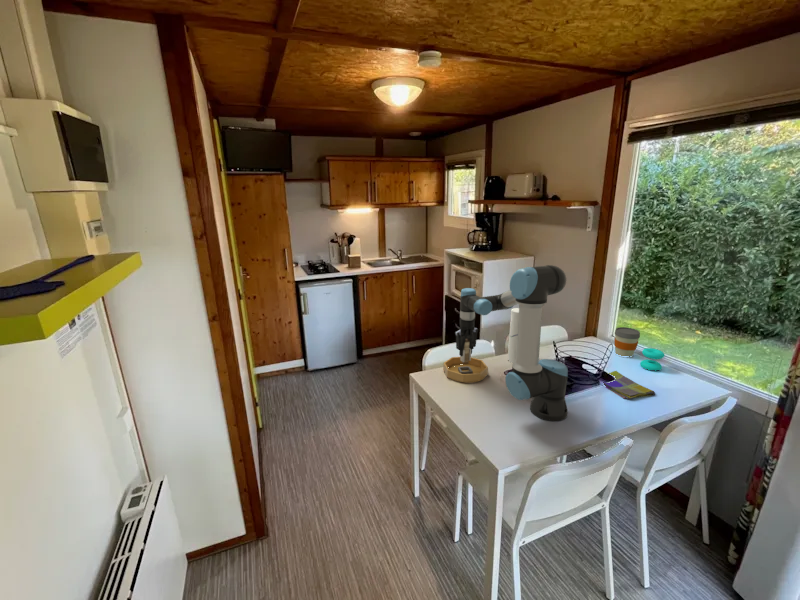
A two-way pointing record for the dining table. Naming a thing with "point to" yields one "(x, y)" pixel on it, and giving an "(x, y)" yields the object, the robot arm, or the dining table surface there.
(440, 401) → the dining table surface
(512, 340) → the container
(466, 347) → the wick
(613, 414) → the dining table surface
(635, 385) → the dish towel
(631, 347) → the reusable coffee cup
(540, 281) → the robot arm
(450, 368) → the octagonal shallow tray
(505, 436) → the dining table surface
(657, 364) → the donuts
